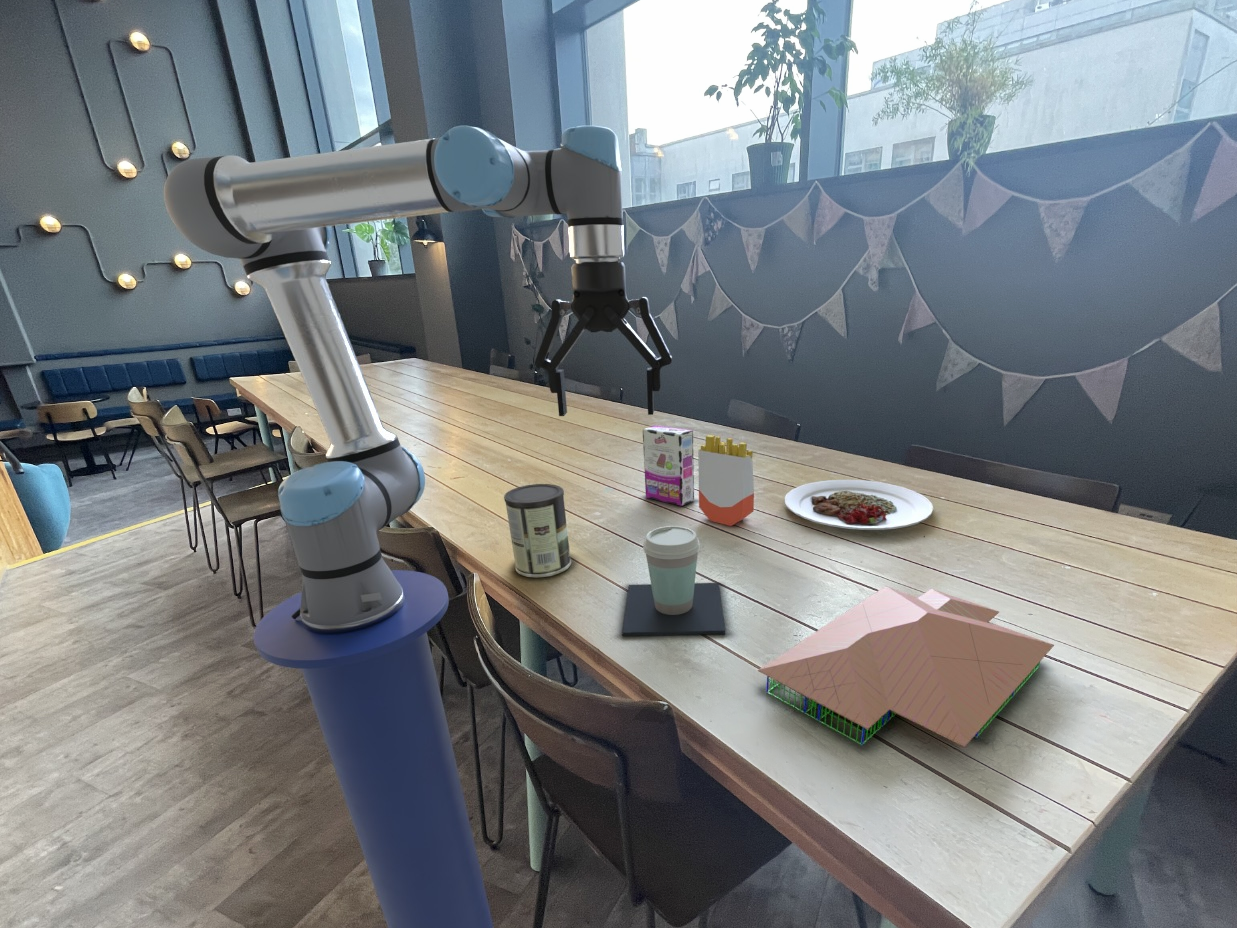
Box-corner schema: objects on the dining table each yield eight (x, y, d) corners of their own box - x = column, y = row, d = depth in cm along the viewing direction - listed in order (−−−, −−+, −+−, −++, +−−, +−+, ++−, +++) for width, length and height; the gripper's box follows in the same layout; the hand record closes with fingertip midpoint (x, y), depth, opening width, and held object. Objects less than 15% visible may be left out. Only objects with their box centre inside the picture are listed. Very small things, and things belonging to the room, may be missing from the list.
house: (1056, 657, 80) (1070, 603, 77) (939, 794, 60) (952, 729, 57) (892, 598, 96) (898, 551, 92) (757, 691, 76) (759, 636, 73)
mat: (622, 636, 89) (621, 632, 89) (629, 587, 103) (629, 584, 103) (725, 634, 89) (725, 630, 88) (718, 585, 102) (718, 582, 102)
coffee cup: (689, 588, 100) (687, 521, 95) (709, 613, 93) (709, 541, 88) (639, 598, 98) (635, 529, 93) (656, 624, 91) (652, 551, 86)
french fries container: (711, 511, 134) (710, 430, 126) (754, 521, 127) (756, 436, 120) (698, 518, 131) (697, 434, 123) (742, 528, 124) (744, 441, 117)
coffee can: (549, 549, 119) (541, 479, 113) (582, 564, 112) (575, 491, 106) (503, 566, 112) (492, 494, 107) (535, 583, 106) (525, 507, 100)
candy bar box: (695, 500, 141) (694, 430, 134) (682, 507, 137) (680, 434, 130) (658, 491, 147) (655, 424, 141) (644, 497, 144) (641, 428, 137)
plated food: (867, 480, 149) (869, 466, 147) (965, 521, 123) (968, 505, 122) (759, 499, 140) (759, 485, 138) (839, 547, 114) (841, 531, 112)
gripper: (687, 259, 88) (688, 407, 97) (516, 264, 89) (532, 409, 98) (687, 258, 81) (688, 417, 90) (502, 263, 83) (520, 420, 91)
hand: (606, 413), depth 94 cm, fingers open, 13 cm apart
